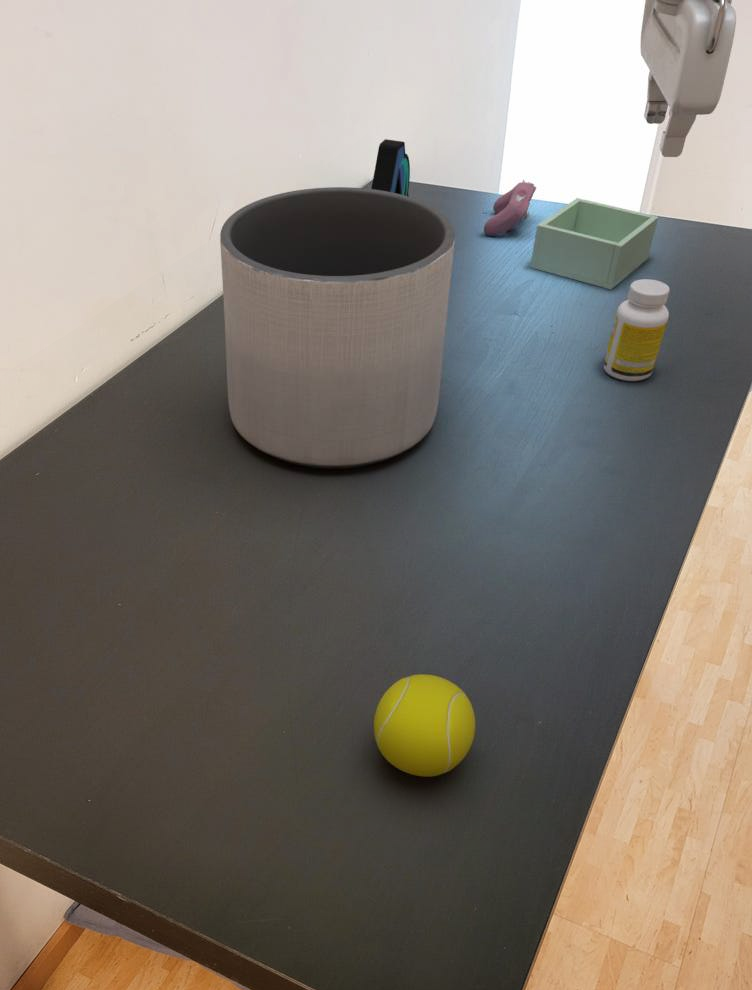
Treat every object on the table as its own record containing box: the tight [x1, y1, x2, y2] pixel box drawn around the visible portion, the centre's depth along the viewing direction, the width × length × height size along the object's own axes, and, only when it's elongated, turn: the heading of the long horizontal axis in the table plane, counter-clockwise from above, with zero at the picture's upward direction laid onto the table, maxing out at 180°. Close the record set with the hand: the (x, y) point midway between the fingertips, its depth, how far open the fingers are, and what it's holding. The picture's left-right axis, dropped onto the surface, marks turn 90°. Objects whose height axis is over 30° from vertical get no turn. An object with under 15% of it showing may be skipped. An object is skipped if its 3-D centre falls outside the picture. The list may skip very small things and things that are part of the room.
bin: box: [529, 197, 659, 290], centre depth 124 cm, size 12×12×6 cm
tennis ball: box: [373, 673, 476, 778], centre depth 66 cm, size 7×7×7 cm
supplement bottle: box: [603, 278, 670, 382], centre depth 103 cm, size 5×5×10 cm
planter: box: [219, 186, 456, 469], centre depth 93 cm, size 22×22×20 cm
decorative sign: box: [370, 138, 411, 197], centre depth 123 cm, size 19×2×15 cm, turn 155°
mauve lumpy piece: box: [483, 179, 537, 237], centre depth 134 cm, size 10×5×7 cm, turn 161°
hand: (661, 137), depth 90 cm, fingers open, 8 cm apart
